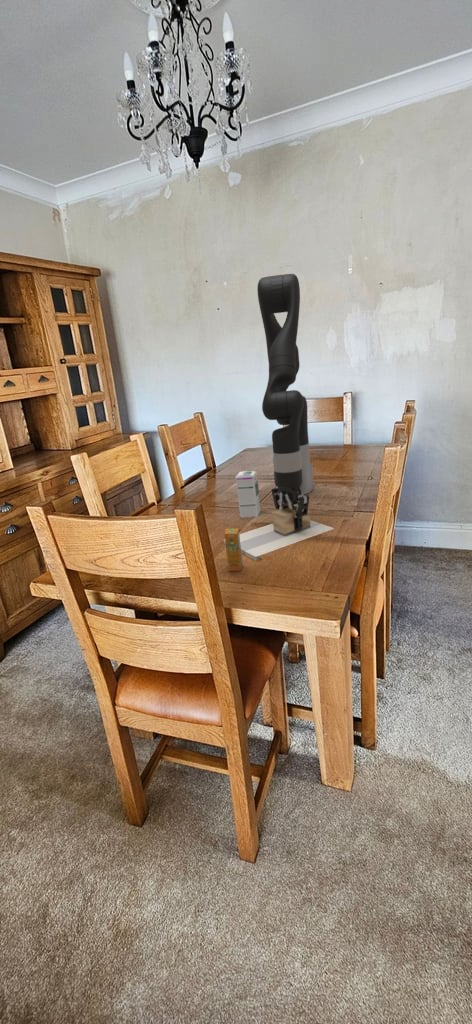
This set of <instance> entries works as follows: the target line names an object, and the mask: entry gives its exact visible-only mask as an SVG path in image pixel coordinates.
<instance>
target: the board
mask: <svg viewBox="0 0 472 1024" xmlns="http://www.w3.org/2000/svg"><path fill="white" fill-rule="evenodd" d="M310 526H311V527H308V528H306V529H303V530H300V531H297V532H294V533H291V534H288V535H285V536H284V535H282V534H280V533H277V532H275V531H274V527H273V523H270V524H267V525H264V526H261V527H258V528H255V529H252V530H249V531H245V532H242V533H239V535H240V545H241V554H242V555H244V556H246V557H248V558H249V559H251V560H253V561H255V562H258V561H260V560H262V557H260V556H262V555H265V554H268V553H272V552H273V551H277V550H279V549H281V548H285V547H287V546H290V545H292V544H295V543H298V542H302V541H304V540H307V539H309V538H312V537H315V536H318V535H320V534H321V535H322V534H324V533H327V532H329V531H332V530H334V527H331V526H329V525H326V524H324V523H320V522H316V521H314V520H311V519H310ZM222 541H223V545H225V546H226V544H225V538H224V539H222Z"/></svg>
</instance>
